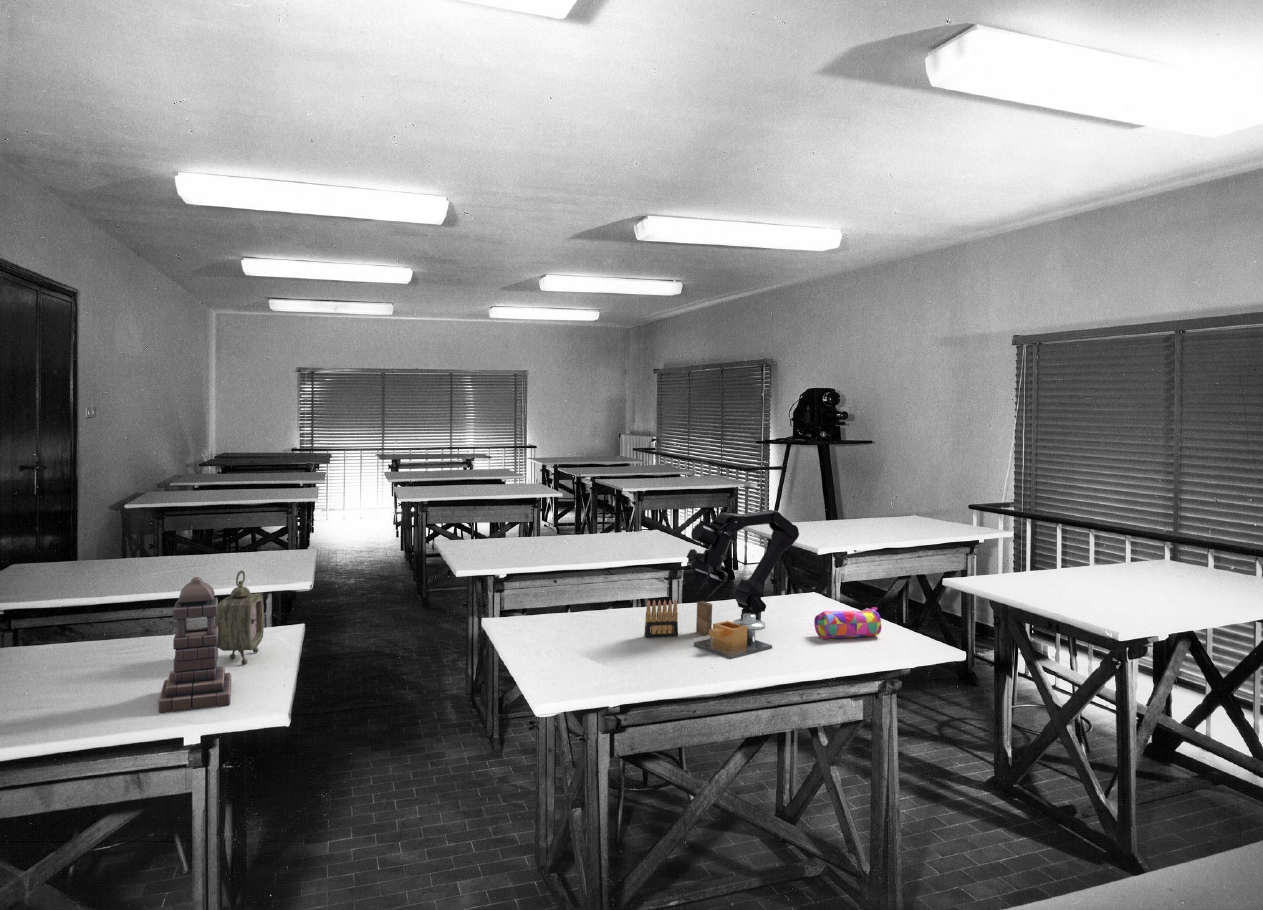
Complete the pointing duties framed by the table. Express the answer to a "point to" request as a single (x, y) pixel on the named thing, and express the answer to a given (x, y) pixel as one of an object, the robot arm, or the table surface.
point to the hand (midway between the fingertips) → (700, 595)
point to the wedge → (704, 617)
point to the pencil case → (848, 623)
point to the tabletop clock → (240, 621)
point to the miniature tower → (195, 655)
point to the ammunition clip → (661, 620)
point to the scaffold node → (735, 637)
